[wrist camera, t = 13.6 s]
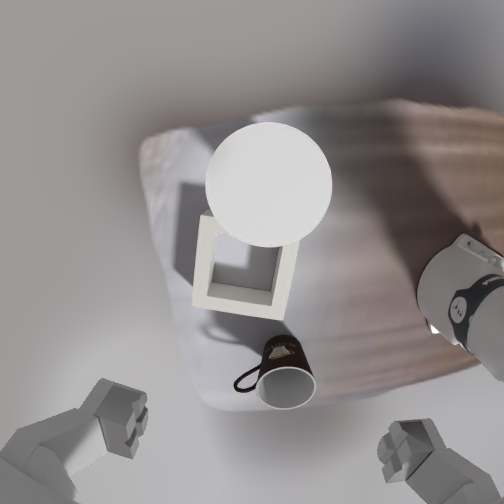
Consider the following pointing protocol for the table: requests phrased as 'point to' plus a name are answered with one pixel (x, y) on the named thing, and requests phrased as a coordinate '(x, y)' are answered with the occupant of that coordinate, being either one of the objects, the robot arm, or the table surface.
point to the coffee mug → (282, 375)
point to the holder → (234, 296)
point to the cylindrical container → (268, 184)
